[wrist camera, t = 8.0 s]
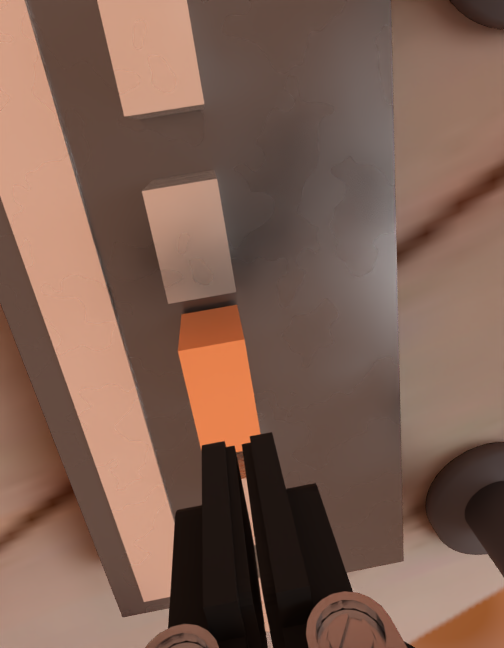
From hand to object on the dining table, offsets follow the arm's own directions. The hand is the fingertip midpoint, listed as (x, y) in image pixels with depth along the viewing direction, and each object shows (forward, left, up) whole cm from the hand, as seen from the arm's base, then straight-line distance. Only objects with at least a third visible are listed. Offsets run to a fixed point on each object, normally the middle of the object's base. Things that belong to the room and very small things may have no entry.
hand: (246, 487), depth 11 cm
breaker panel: (0, 0, -10) cm, 10 cm away
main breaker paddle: (0, 0, -7) cm, 7 cm away
